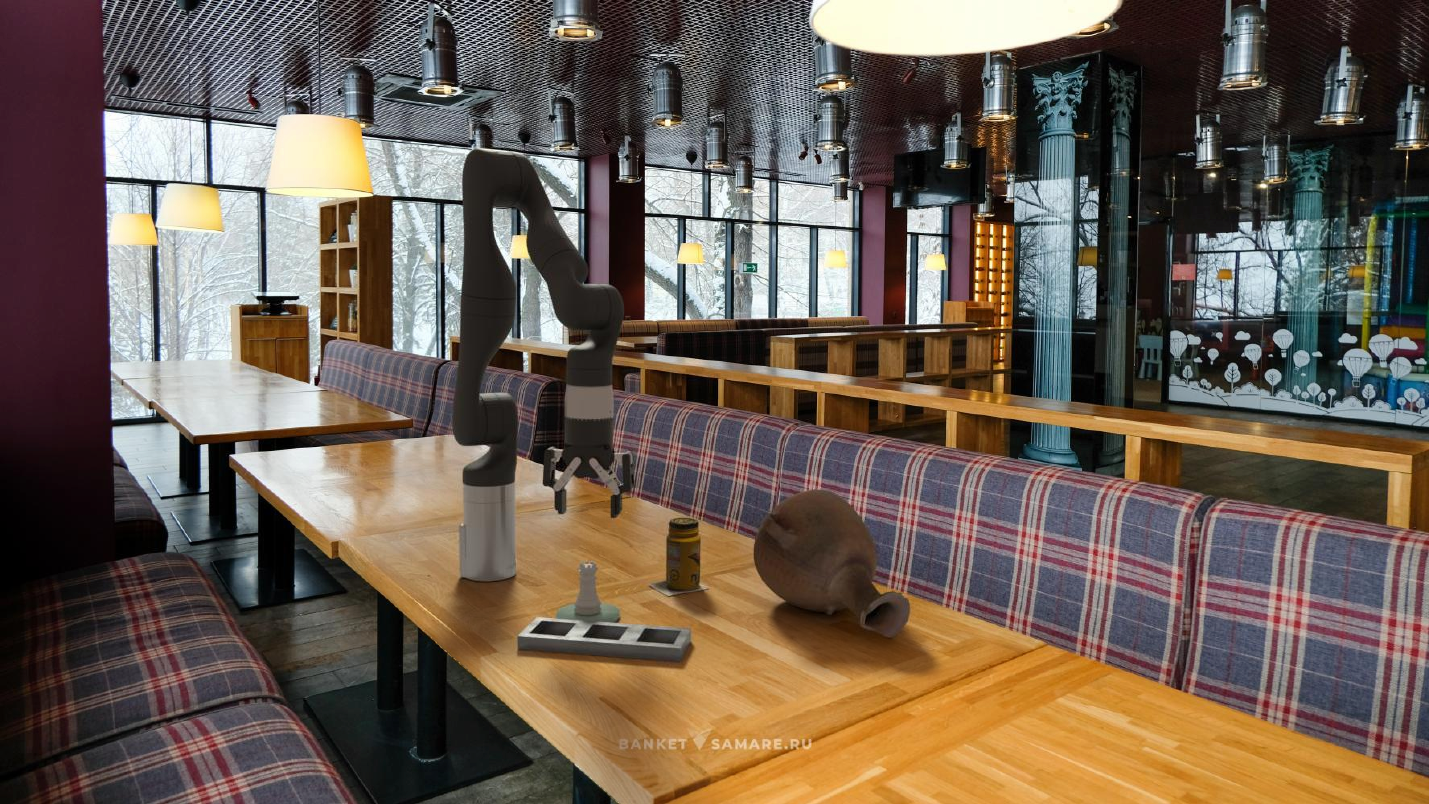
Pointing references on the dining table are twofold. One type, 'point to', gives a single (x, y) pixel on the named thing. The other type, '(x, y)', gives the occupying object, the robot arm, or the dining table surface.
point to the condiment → (682, 558)
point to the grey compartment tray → (584, 643)
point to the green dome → (605, 615)
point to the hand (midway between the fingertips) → (588, 515)
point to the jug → (825, 561)
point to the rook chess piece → (587, 591)
